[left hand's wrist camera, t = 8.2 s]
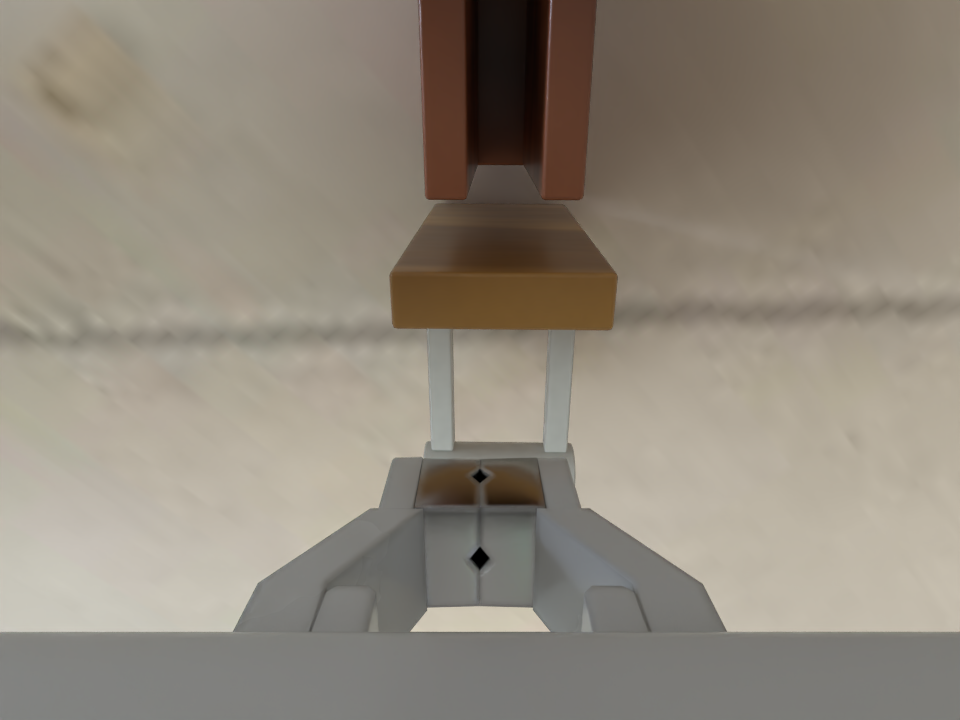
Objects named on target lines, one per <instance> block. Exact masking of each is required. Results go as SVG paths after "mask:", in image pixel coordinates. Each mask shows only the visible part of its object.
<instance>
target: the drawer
mask: <svg viewBox="0 0 960 720" xmlns="http://www.w3.org/2000/svg"><path fill="white" fill-rule="evenodd" d="M596 7H597V0H418V8H419V36H420V64H421V92H422V121H423V149H424V177H425V196H426V198H427V199H429V200H464V199H466V198H467V195H468V192H469V189H470V186H471V183H472V180H473V177H474V174H475V171H476V168H477V165H524V166H525V168H526V170H527V172H528V174H529V175H530V177H531V179H532V181H533V183H534V184H535V186H536V188H537V190H538V192H539V193H540V195H541V197H542V199H544V200H580V199H582V198H583V196H584V183H585V169H586V154H587V139H588V125H589V110H590V95H591V80H592V66H593V51H594V36H595V21H596ZM389 277H390V293H391V310H392V324H393V326H394V328H397V329H427V348H428V375H429V402H430V428H431V441H428V442H426V445H425V449H424V457H423V459H424V458H471V459H499V458H550V457H565V458H566V459H567V460H568V464H569V467H570V471H571V474H572V478H573V481H574V485H575V458H574V451H573V447H572V445H571V444H570V443H567V442H568V428H569V413H570V398H571V384H572V369H573V355H574V340H575V330H611V329H612V327H613V321H614V311H615V300H616V290H617V279H618V277H617V274H616V273H615V271H614V270H613V269H612V267H611V266H610V265H609V263H608V262H607V261H606V259H605V258H604V257H603V255H602V254H601V253H600V251H599V250H598V249H597V247H596V246H595V245H594V243H593V242H592V241H591V240H590V238H589V237H588V236H587V234H586V233H585V232H584V230H583V229H582V228H581V226H580V225H579V224H578V222H577V221H576V220H575V218H574V217H573V216H572V214H571V213H570V212H569V211H568V209H567V208H566V207H565V205H563V204H435V206H434V207H433V209H432V210H431V212H430V213H429V215H428V216H427V218H426V219H425V221H424V222H423V224H422V225H421V227H420V228H419V230H418V232H417V233H416V235H415V236H414V238H413V239H412V241H411V242H410V244H409V245H408V247H407V248H406V250H405V251H404V253H403V254H402V256H401V257H400V259H399V260H398V262H397V264H396V265H395V267H394V268H393V270H392V271H391V273H390V276H389ZM453 329H514V330H548V345H547V366H546V386H545V406H544V427H543V443H524V442H455V422H454V370H453Z"/></svg>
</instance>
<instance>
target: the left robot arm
mask: <svg viewBox="0 0 960 720" xmlns="http://www.w3.org/2000/svg"><path fill="white" fill-rule="evenodd" d="M461 606H497V607H533V610H534V612H535V613H536V614H537V615H538V617H539V618H540V619H541V620H542V622H543V623H544V624H545V625H546V627H547V628H548V629H549V630H550V631H551V632H410V631H411V629H412V628H413V627H414V626H415V625H416V623H417V622H418V621H419V620H420V618H421V617H422V616H423V615H424V614H425V612H426V611H427V607H461ZM0 720H960V632H727V631H726V629H725V627H724V625H723V623H722V621H721V619H720V617H719V615H718V613H717V611H716V609H715V607H714V605H713V603H712V601H711V599H710V597H709V595H708V593H707V591H706V589H705V587H704V586H703V584H702V583H700V582H699V581H697V580H696V579H694V578H693V577H691V576H690V575H688V574H687V573H685V572H684V571H682V570H681V569H679V568H678V567H676V566H675V565H673V564H672V563H670V562H669V561H667V560H666V559H664V558H663V557H661V556H660V555H658V554H657V553H655V552H654V551H652V550H651V549H650V548H648V547H647V546H645V545H644V544H642V543H641V542H639V541H638V540H636V539H635V538H633V537H632V536H630V535H629V534H627V533H626V532H624V531H623V530H621V529H620V528H618V527H617V526H615V525H614V524H612V523H611V522H609V521H608V520H606V519H605V518H603V517H602V516H600V515H599V514H597V513H596V512H594V511H593V510H591V509H586V508H581V505H580V502H579V498H578V495H577V491H576V488H575V485H574V481H573V478H572V474H571V471H570V467H569V464H568V460H567V459H566V458H565V457H550V458H499V459H471V458H424V459H423V458H422V457H401V458H394V459H393V460H392V463H391V467H390V470H389V474H388V477H387V481H386V484H385V488H384V491H383V495H382V498H381V502H380V505H379V508H374V509H369V510H367V511H366V512H364V513H363V514H361V515H360V516H358V517H357V518H355V519H354V520H352V521H351V522H349V523H348V524H346V525H345V526H343V527H342V528H340V529H339V530H337V531H336V532H334V533H333V534H331V535H330V536H328V537H327V538H325V539H324V540H322V541H321V542H319V543H318V544H316V545H315V546H313V547H312V548H310V549H309V550H307V551H306V552H304V553H303V554H301V555H300V556H298V557H297V558H295V559H294V560H292V561H291V562H289V563H288V564H286V565H285V566H283V567H282V568H280V569H279V570H277V571H276V572H274V573H273V574H271V575H270V576H268V577H267V578H265V579H264V580H262V581H261V582H259V583H258V584H257V586H256V588H255V590H254V592H253V594H252V596H251V598H250V600H249V602H248V604H247V605H246V607H245V609H244V611H243V613H242V615H241V617H240V619H239V621H238V623H237V625H236V627H235V629H234V631H233V632H0Z"/></svg>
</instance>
